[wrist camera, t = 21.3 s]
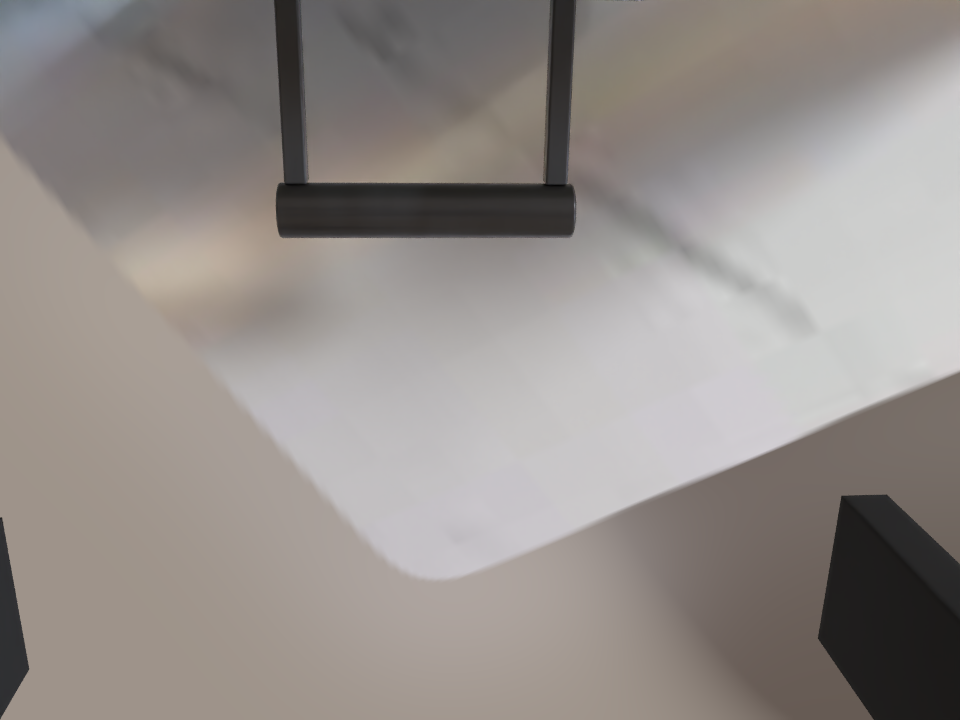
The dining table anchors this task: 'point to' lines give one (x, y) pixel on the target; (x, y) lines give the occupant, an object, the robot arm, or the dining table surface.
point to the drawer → (425, 203)
